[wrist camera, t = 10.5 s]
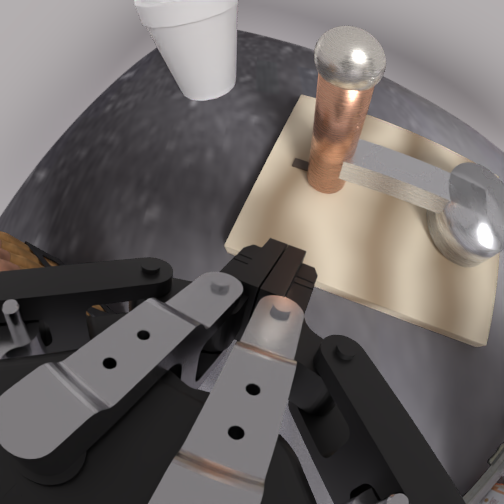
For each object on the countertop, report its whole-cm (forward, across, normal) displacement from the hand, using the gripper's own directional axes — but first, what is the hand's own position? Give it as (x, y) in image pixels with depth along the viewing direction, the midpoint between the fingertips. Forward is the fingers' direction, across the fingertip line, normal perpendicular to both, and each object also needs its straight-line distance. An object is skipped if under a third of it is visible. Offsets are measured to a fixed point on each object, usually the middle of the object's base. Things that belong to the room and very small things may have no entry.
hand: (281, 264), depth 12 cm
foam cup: (+21, +16, -7) cm, 27 cm away
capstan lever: (+13, -7, -2) cm, 15 cm away
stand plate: (+15, -6, -1) cm, 16 cm away
